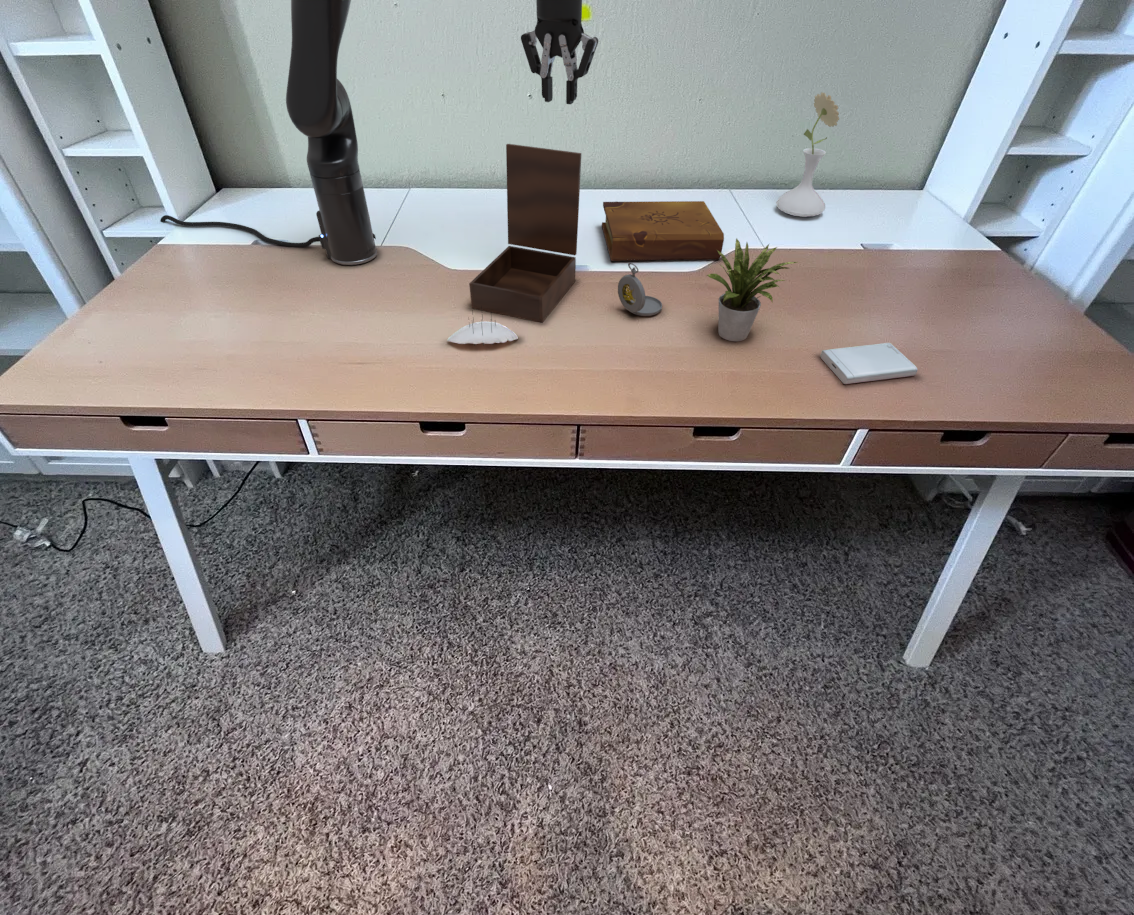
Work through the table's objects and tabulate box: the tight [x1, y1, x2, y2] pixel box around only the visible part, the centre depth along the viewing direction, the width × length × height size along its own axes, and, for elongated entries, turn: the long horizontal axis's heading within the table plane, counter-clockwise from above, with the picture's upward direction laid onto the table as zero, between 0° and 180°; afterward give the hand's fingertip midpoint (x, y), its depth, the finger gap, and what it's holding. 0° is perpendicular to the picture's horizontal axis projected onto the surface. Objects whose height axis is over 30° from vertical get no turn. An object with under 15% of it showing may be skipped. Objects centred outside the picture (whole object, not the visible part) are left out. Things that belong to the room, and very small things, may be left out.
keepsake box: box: [468, 245, 577, 324], centre depth 118 cm, size 17×14×5 cm
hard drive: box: [819, 342, 919, 385], centre depth 102 cm, size 2×8×12 cm
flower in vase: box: [775, 91, 840, 218], centre depth 143 cm, size 13×11×25 cm
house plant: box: [706, 238, 799, 342], centre depth 103 cm, size 14×14×16 cm
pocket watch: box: [617, 262, 663, 317], centre depth 112 cm, size 8×8×10 cm
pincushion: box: [446, 306, 519, 347], centre depth 105 cm, size 12×6×6 cm, turn 95°
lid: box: [505, 143, 582, 256], centre depth 117 cm, size 18×14×1 cm
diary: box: [601, 200, 725, 262], centre depth 135 cm, size 23×19×6 cm
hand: (559, 101), depth 112 cm, fingers open, 3 cm apart
